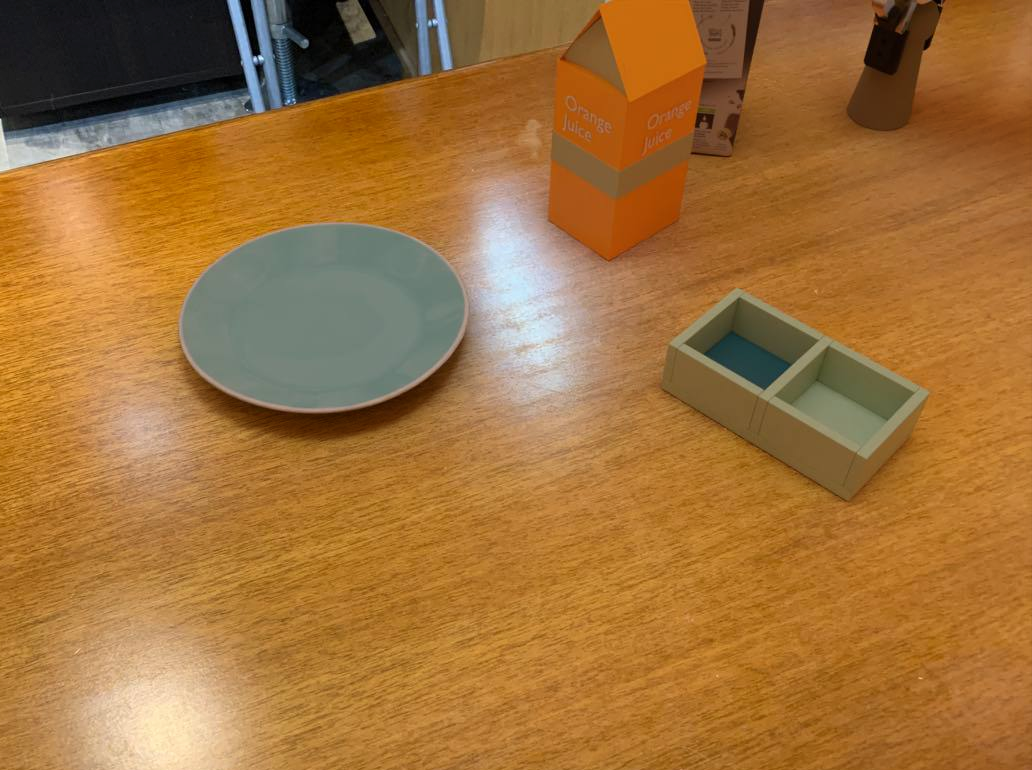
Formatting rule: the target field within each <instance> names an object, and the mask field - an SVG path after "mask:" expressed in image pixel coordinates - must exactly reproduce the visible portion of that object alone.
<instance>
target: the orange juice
mask: <svg viewBox="0 0 1032 770" xmlns="http://www.w3.org/2000/svg"><path fill="white" fill-rule="evenodd" d="M597 7H598V9H597V11H596V12H595V13H594V14H593V16H592V17H591V18H590V20H589V21H588V22H587V23H586V24H585V26H584V27H583V28H582V30H581V31H580V32H579V34H577V36H576V37H575V38H574V40H573V41H572V42H571V43H570V45H569V46H568V47H567V49H566V50H565V51H564V52H563V54H562V55H561V56H560V58H558V59H557V60H556V73H555V74H556V75H555V89H554V91H555V92H554V107H553V108H554V110H553V125H552V130H551V148H550V159H551V161H550V173H549V191H548V192H549V193H548V206H547V208H548V209H547V221H549V222H550V223H551V224H553V225H555V226H556V227H557V228H559V229H561V230H562V231H563V232H565V233H566V234H568V235H570V236H571V237H572V238H574V239H575V240H577V241H578V242H580V243H581V244H583V245H584V246H586V247H587V248H589V249H590V250H591V251H593V252H595V253H596V254H598V256H601V257H602V258H604V259H605V260H606V261H608V262H610V261H611V260H614V258H616V257H618V256H619V255H622V254H623V253H624V252H627V251H628V250H630V249H631V248H633V247H635V246H637V245H639V244H640V243H642V242H643V241H645V240H647V239H648V238H650V237H652V236H653V235H656V234H657V233H659V232H660V231H662V230H664V229H665V228H667V227H669V226H671V225H673V224H674V223H676V222H678V221H679V219H680V213H681V208H682V201H683V195H684V191H685V184H686V180H687V179H686V178H687V173H688V168H689V162H690V159H691V155H692V152H691V149H692V143H693V138H694V132H695V131H694V128H695V122H696V116H697V111H698V105H699V99H700V93H701V88H702V82H703V76H704V70H705V65H706V63H707V62H706V58H705V55H704V51H703V48H702V44H701V41H700V37H699V34H698V30H697V27H696V23H695V20H694V17H693V13H692V10H691V6H690V3H689V0H609V1H606V2H604V3H601V4H599V5H598V6H597Z"/></svg>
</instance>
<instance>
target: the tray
mask: <svg viewBox="0 0 1032 770" xmlns="http://www.w3.org/2000/svg"><path fill="white" fill-rule="evenodd" d="M664 360H665V361H664V366H663V371H662V377H661V383H660V388H661V389H662V390H663V391H664V392H666V393H669V395H672V396H673V397H675V398H676V399H678V400H680V401H682V402H683V403H685V404H687V406H690V407H691V408H693V409H695V410H696V411H698V412H700V413H701V414H703V415H705V416H706V417H708V418H709V419H711V420H713V421H714V422H716V423H718V424H720V425H721V426H723V427H724V428H726V429H728V430H729V431H731V432H733V433H734V434H736V435H737V436H739V437H740V438H742V439H744V440H746V441H747V442H749V443H751V444H752V445H754V446H756V447H757V448H759V449H761V450H762V451H764V452H765V453H767V454H769V455H770V456H772V457H773V458H775V459H777V460H779V461H780V462H782V463H783V464H785V465H786V466H788V467H790V468H792V469H793V470H795V471H797V472H799V473H800V474H802V475H803V476H805V477H807V478H809V479H810V480H811V481H813V482H815V483H817V484H818V485H820V486H821V487H823V488H824V489H826V490H828V491H830V493H833V494H834V495H836V496H838V497H840V498H841V499H843V500H844V501H846V502H848V503H849V502H850V501H851V500H853V498H854V497H855V496H856V494H857V493H859V492H860V491H861V490H862V488H863V487H865V485H866V484H867V483H868V482H869V481H870V480H871V479H872V478H873V477H874V476H875V474H876V473H878V471H879V470H880V469H881V468H882V467H883V466H884V465H885V464H886V463H887V462H888V461H889V460H890V459H891V457H892V456H893V455H894V454H895V453H896V452H897V451H898V450H899V449H900V448H901V447H902V446H903V445H904V444H905V443H906V442H907V440H908V439H909V438H910V437H911V436H912V434H913V432H914V429H915V427H916V426H917V423H918V421H919V419H920V416H921V414H922V412H923V410H924V408H925V406H926V403H927V401H928V399H929V398H930V394H931V391H930V390H928V389H926V388H924V387H922V386H920V385H918V384H917V383H915V382H913V381H911V380H909V379H907V378H905V377H904V376H902V375H900V374H898V373H896V372H894V371H892V370H891V369H888V368H887V367H885V366H883V365H882V364H879V363H877V362H876V361H874V360H872V359H871V358H869V357H867V356H865V355H864V354H861V353H859V352H857V351H856V350H854V349H852V348H850V347H849V346H846V345H845V344H842V343H841V342H839V341H837V340H835V339H833V338H831V337H829V336H828V335H826V334H824V333H822V332H820V331H819V330H817V329H815V328H813V327H811V326H809V325H807V324H805V323H804V322H802V321H800V320H798V319H796V318H794V317H793V316H791V315H789V314H787V313H785V312H784V311H781V310H779V308H775V307H774V306H772V305H770V304H769V303H766V302H765V301H763V300H761V299H759V298H757V297H755V296H754V295H752V294H751V293H749V292H746V291H744V290H742V289H741V288H739V287H735V288H734V289H733V290H732V291H730V292H728V294H727V295H725V296H724V297H723V298H722V299H721V300H719V301H718V302H717V303H715V304H714V305H713V306H712V307H711V308H710V309H708V310H707V311H706V312H705V313H704V314H702V315H701V316H700V317H698V318H697V319H696V320H695V321H694V322H692V323H691V324H690V325H689V326H688V327H686V328H685V329H684V330H683V331H682V332H681V333H679V334H678V335H677V336H676V337H674V338H673V339H672V340H671V341H669V342H668V345H667V350H666V355H665V359H664Z"/></svg>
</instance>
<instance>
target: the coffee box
mask: <svg viewBox="0 0 1032 770" xmlns="http://www.w3.org/2000/svg"><path fill="white" fill-rule="evenodd" d="M765 2H766V1H765V0H689V3H690V6H691V10H692V13H693V17H694V20H695V23H696V27H697V30H698V34H699V37H700V41H701V44H702V48H703V51H704V55H705V58H706V62H707V63H706V65H705V70H704V76H703V82H702V88H701V93H700V99H699V105H698V111H697V116H696V122H695V128H694V131H695V132H694V138H693V143H692V149H691V153H698V154H705V155H713V156H714V155H715V156H723V157H730V156H731V155H732V153H733V149H734V144H735V140H736V136H737V131H738V128H739V127H738V126H739V123H740V122H739V121H740V116H741V113H742V106H743V103H744V98H745V94H746V89H747V83H748V79H749V74H750V70H751V66H752V61H753V56H754V52H755V46H756V43H757V39H758V34H759V28H760V25H761V20H762V14H763V11H764V7H765V5H764V4H765Z"/></svg>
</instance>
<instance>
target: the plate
mask: <svg viewBox="0 0 1032 770" xmlns="http://www.w3.org/2000/svg"><path fill="white" fill-rule="evenodd" d="M470 309H471V308H470V299H469V293H468V291H467V288H466V285H465V282H464V280H463V278H462V277H461V275H460V273H459V272H458V271H457V269H456V268H455V267H454V265H453V264H452V262H450V261H449V260H448V259H447V258H446V257H445V256H444V255H443V254H442V253H440V252H439V251H438V250H437V249H435V248H434V247H433V246H431V245H430V244H428V243H426V242H424V241H423V240H420V239H418V238H417V237H414V236H412V235H410V234H408V233H405V232H402V231H398V230H395V229H393V228H389V227H384V226H379V225H376V224H375V225H374V224H368V223H360V222H347V221H346V222H343V221H341V222H339V221H337V222H335V221H334V222H332V221H329V222H314V223H308V224H307V223H306V224H301V225H294V226H291V227H285V228H281V229H278V230H274V231H270V232H268V233H264V234H262V235H259V236H256V237H254V238H252V239H249V240H247V241H245V242H243V243H241V244H239V245H237V246H235V247H233V248H232V249H230V250H229V251H226V252H225V253H224V254H222V255H221V256H219V257H218V258H217V259H215V260H214V261H213V262H212V263H211V264H209V265H208V266H207V267H206V268H205V269H204V270H203V271H202V273H200V275H198V277H197V278H196V280H195V281H194V282H193V283H192V285H191V286H190V288H189V289H188V291H187V293H186V295H185V297H184V299H183V302H182V303H181V307H180V311H179V315H178V324H177V333H178V340H179V344H180V347H181V350H182V352H183V354H184V356H185V358H186V360H187V362H188V363H189V364H190V366H191V367H192V368H193V370H194V371H195V373H197V374H198V375H199V376H200V377H201V378H202V379H203V380H204V381H206V383H208V384H210V385H211V386H212V387H214V388H216V389H217V390H219V391H220V392H221V393H225V394H226V395H228V396H230V397H233V398H235V399H237V400H239V401H243V402H245V403H248V404H251V405H254V406H257V407H261V408H266V409H270V410H274V411H281V412H287V413H296V414H334V413H343V412H350V411H356V410H360V409H364V408H368V407H372V406H376V405H379V404H381V403H384V402H387V401H389V400H391V399H393V398H396V397H399V396H400V395H402V394H404V393H406V392H408V391H410V390H412V389H413V388H415V387H416V386H418V385H420V384H421V383H423V382H424V381H425V380H427V379H428V378H429V377H430V376H432V375H433V374H434V373H436V372H437V371H438V370H439V369H440V368H441V367H442V366H443V365H444V364H445V363H446V362H447V361H448V360H449V359H450V357H452V355H453V353H454V352H455V351H456V349H457V348H458V346H459V345H460V343H461V342H462V340H463V338H464V336H465V334H466V331H467V327H468V324H469V319H470Z"/></svg>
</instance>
